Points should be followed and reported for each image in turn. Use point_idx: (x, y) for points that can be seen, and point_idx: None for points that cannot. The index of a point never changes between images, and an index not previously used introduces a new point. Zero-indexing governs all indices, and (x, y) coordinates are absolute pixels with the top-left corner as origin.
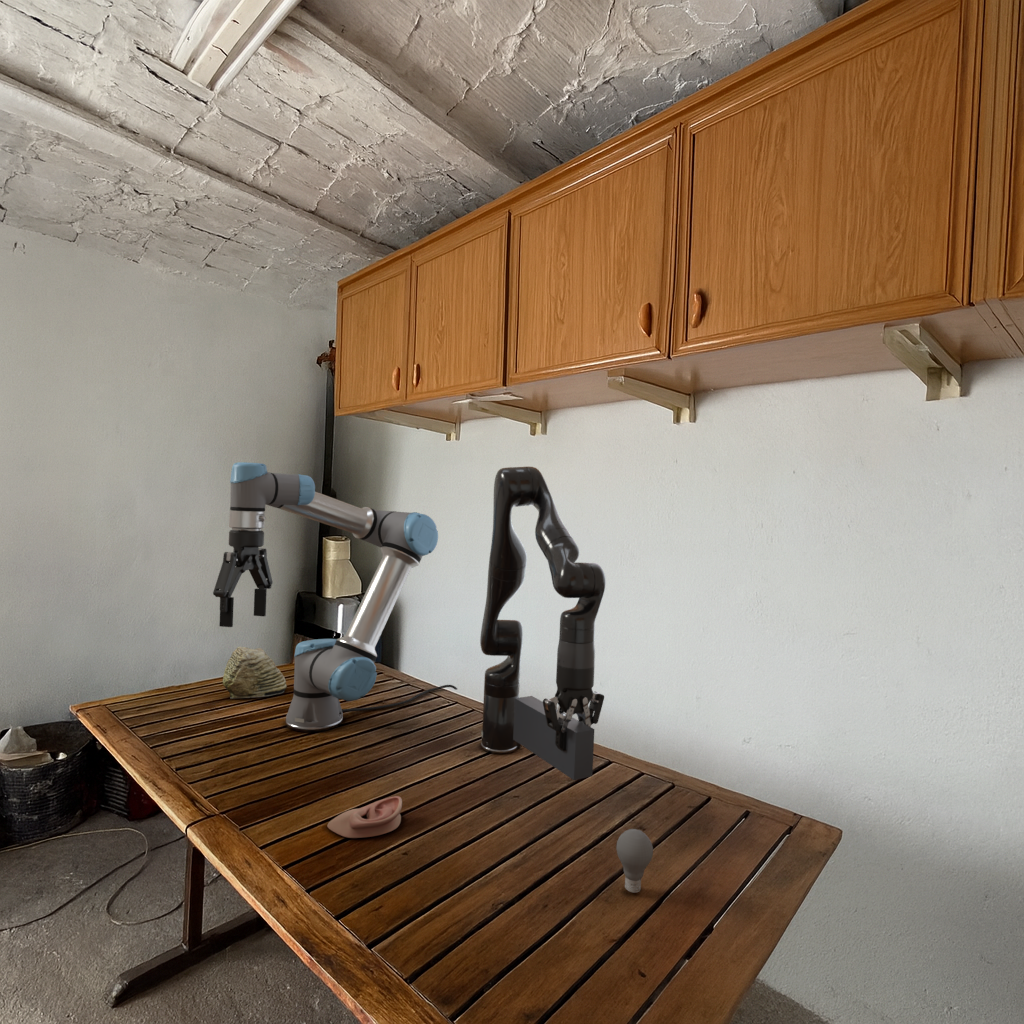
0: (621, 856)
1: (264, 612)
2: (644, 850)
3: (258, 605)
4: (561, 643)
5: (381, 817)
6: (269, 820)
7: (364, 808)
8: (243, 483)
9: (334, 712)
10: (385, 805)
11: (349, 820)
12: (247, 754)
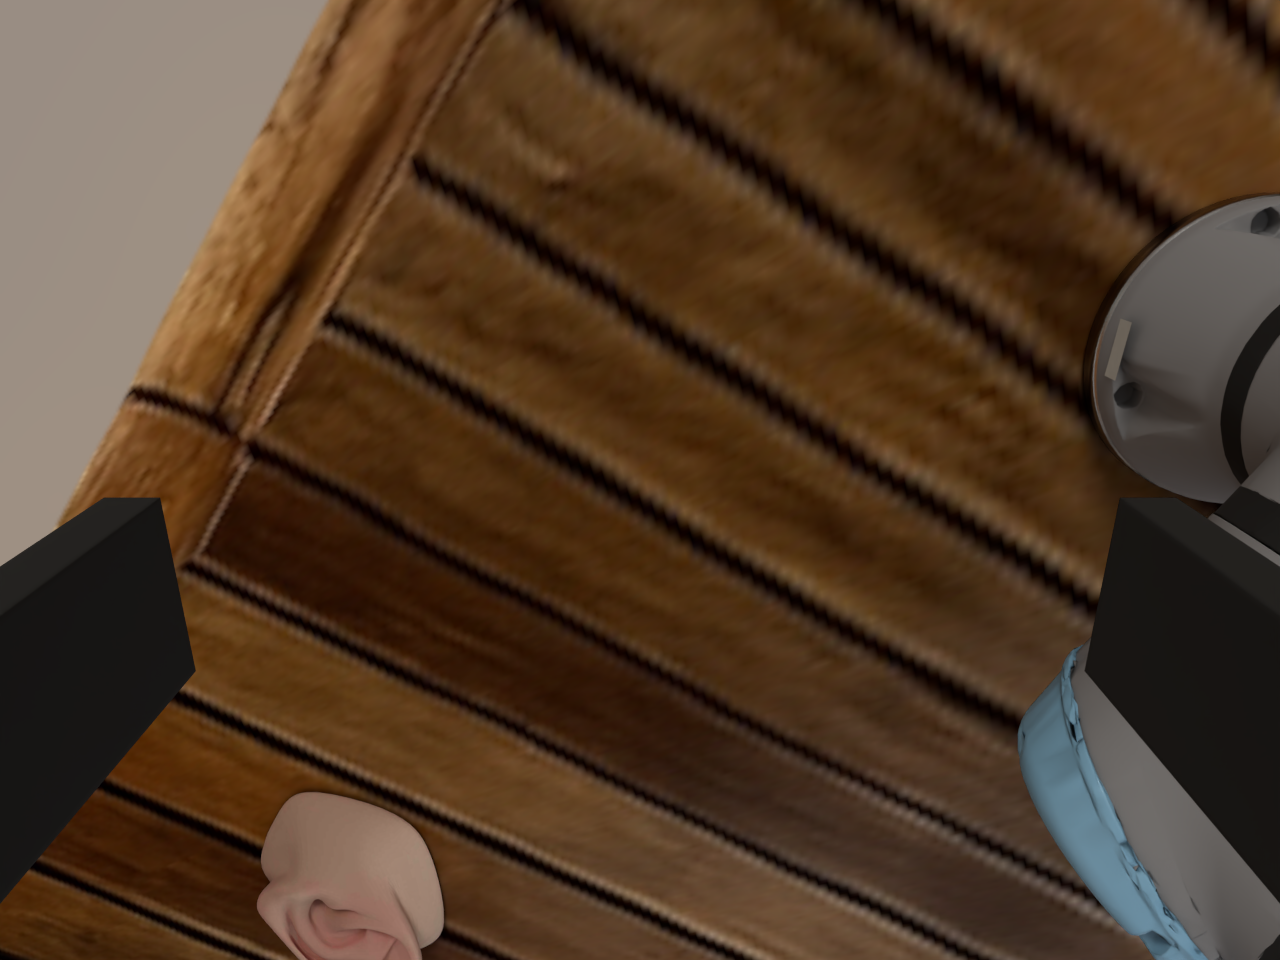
0: None
1: (1128, 709)
2: None
3: (1211, 682)
4: None
5: (319, 955)
6: (271, 620)
7: (348, 903)
8: None
9: (1214, 500)
10: (394, 942)
11: (276, 883)
12: (766, 236)
